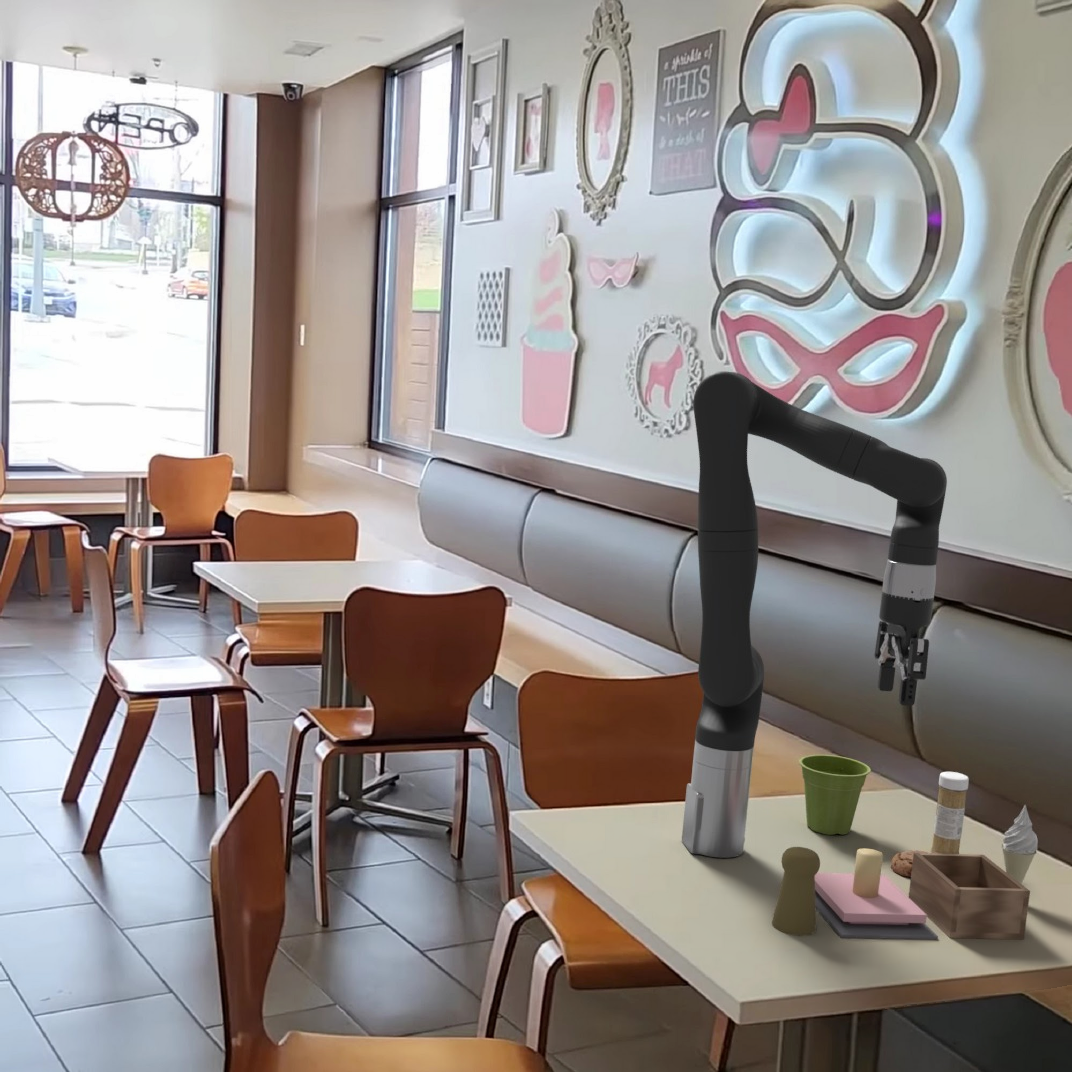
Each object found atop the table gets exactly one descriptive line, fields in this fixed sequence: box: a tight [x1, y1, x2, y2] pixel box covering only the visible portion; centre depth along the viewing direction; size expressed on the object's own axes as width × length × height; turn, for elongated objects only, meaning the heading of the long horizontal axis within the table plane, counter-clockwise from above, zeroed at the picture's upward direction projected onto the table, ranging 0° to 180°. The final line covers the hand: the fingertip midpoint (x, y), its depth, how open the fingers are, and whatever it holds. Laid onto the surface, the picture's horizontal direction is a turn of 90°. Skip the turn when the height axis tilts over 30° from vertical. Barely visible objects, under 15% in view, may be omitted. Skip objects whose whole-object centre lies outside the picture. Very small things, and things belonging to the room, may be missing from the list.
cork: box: [771, 846, 821, 936], centre depth 191 cm, size 6×6×11 cm
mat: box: [815, 890, 939, 940], centre depth 199 cm, size 14×19×1 cm
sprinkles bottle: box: [930, 771, 970, 854], centre depth 225 cm, size 5×5×13 cm
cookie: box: [890, 850, 929, 878], centre depth 217 cm, size 10×11×3 cm
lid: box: [815, 847, 928, 925], centre depth 199 cm, size 12×15×8 cm
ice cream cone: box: [1000, 804, 1039, 885], centre depth 207 cm, size 5×5×15 cm
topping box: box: [908, 852, 1031, 940], centre depth 199 cm, size 11×14×7 cm
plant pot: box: [798, 754, 872, 836], centre depth 234 cm, size 12×12×11 cm
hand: (895, 697), depth 209 cm, fingers open, 8 cm apart
